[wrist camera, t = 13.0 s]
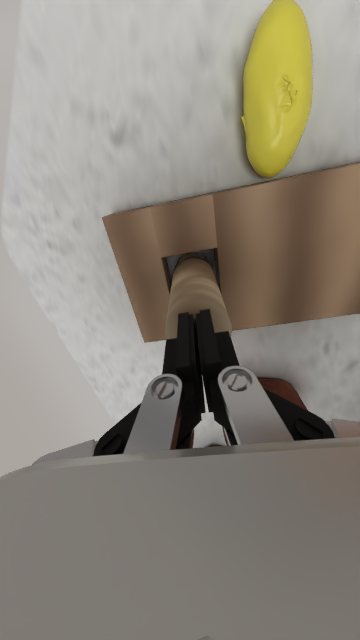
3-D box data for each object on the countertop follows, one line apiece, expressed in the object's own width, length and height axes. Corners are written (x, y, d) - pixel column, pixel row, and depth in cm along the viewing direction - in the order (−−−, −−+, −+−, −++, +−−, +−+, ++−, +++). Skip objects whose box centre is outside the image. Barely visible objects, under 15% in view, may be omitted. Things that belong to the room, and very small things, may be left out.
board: (389, 155, 16) (428, 149, 13) (351, 297, 22) (373, 311, 20) (113, 213, 18) (101, 217, 16) (148, 326, 25) (144, 342, 22)
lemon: (234, 181, 17) (245, 180, 14) (238, 26, 13) (256, -29, 10) (287, 175, 17) (312, 172, 14) (309, 14, 13) (353, -47, 9)
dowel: (208, 246, 20) (229, 297, 10) (212, 282, 22) (233, 353, 12) (170, 253, 20) (158, 308, 11) (177, 287, 22) (172, 360, 13)
